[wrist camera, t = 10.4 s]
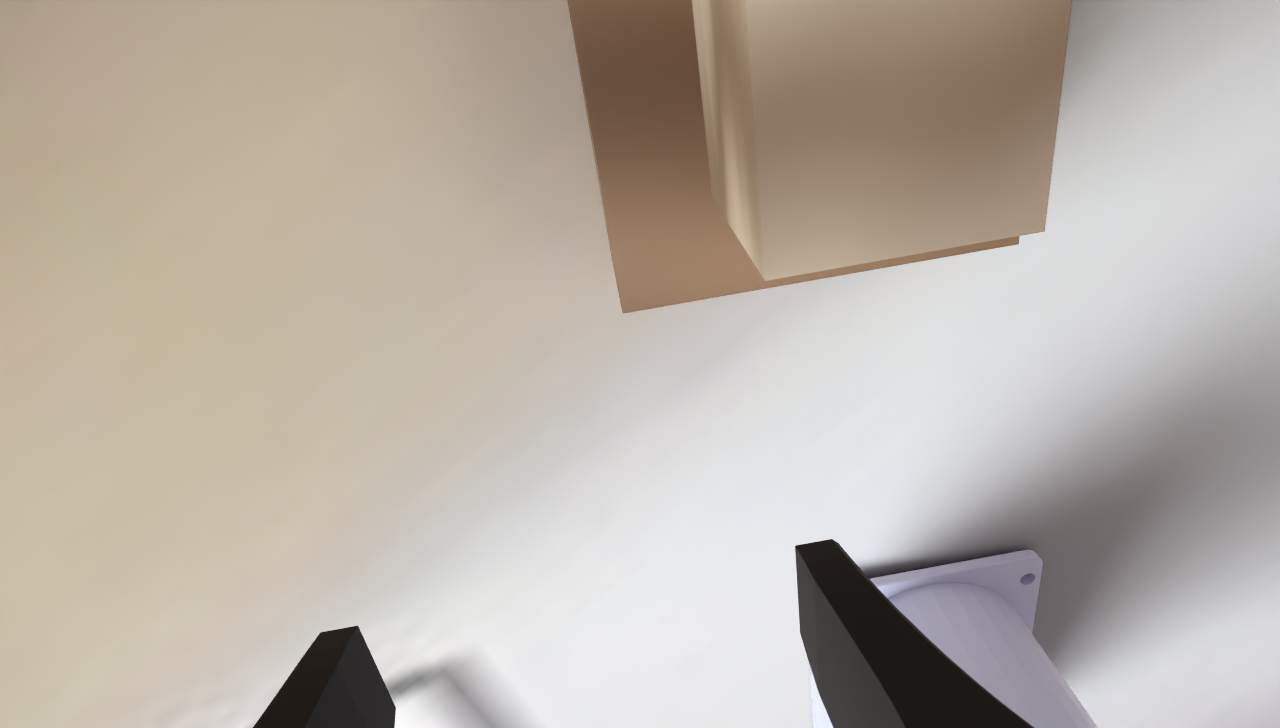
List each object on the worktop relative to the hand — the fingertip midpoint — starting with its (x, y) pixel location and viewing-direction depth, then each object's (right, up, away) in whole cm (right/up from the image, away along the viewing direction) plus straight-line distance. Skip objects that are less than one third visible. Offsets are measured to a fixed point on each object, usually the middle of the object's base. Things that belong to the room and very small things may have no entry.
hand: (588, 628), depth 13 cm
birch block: (+4, +10, +2) cm, 11 cm away
